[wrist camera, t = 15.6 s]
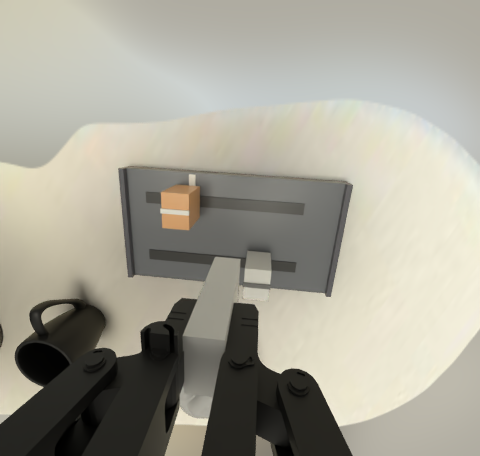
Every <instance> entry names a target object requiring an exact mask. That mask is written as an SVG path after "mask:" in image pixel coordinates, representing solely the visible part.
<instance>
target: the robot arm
mask: <svg viewBox="0 0 480 456" xmlns="http://www.w3.org/2000/svg"><path fill="white" fill-rule="evenodd" d="M240 260H241V259H236V258H224V257H215V258H214V261H213V263H212V266H211V268H210V270H209V273H208V275H207V278H206V280H205V283H204V285H203V287H202V290H201V292H200V295H199V297H198V300H196V299H186V298H182V299H180V300H179V301H178V302H177V303H175V304H174V306H173V308H172V310H171V313H169V315H168V317H167V319H166V321H158V322H155V323H151V324H149V325H148V326H146V327H144V328H143V330H142V331H141V332H140V333H141V346H142V351H141V353H139V354H135V355H131V356H125V357H118V358H117V357H116V354H115V352H114V351H112V350H111V349H107V348H99V349H94V350H91V351H89V352H87V353H85V354H83V355H82V356H80V357H79V358H78V359H77V360H76V361H74V362H73V363H72V364H71V365H70V366H68V367H67V368H66V369H65V370H64V371H63V372H61V373H60V374H59V375H58V376H57V377H56V378H54V379H53V380H52V381H51V382H50V383H48V384H47V385H46V386H45V387H44V388H43V389H41V390H40V391H39V392H38V393H37V394H35V395H34V396H33V397H32V398H31V399H30V400H28V401H27V402H26V403H25V404H24V405H22V406H21V407H20V408H19V409H18V410H17V411H15V412H14V413H13V414H12V415H11V416H10V417H8V418H7V419H6V420H5V421H4V422H2V423H1V424H0V456H164V455H165V452H166V449H167V445H168V442H169V439H170V436H171V433H172V429H173V426H174V423H175V420H176V417H177V413H178V410H179V405H180V393H181V390H182V387H183V391H184V394H193V395H201V396H209V397H213V400H212V405H211V410H210V415H209V420H208V425H207V430H206V435H205V440H204V445H203V450H202V455H201V456H255V450H256V435H258V436H260V437H262V438H263V439H265V440H267V441H269V442H270V443H271V448H272V452H273V456H352V454H351V451H350V449H349V448H348V445H347V444H346V441H345V439H344V437H343V435H342V433H341V431H340V429H339V427H338V425H337V423H336V421H335V418H334V416H333V414H332V412H331V410H330V408H329V406H328V404H327V402H326V400H325V398H324V396H323V394H322V392H321V390H320V388H319V385H318V384H317V382H316V381H315V379H314V378H313V377H312V376H311V375H310V374H308V373H307V372H305V371H302V370H300V369H288V370H285V371H283V372H282V373H281V374H279V373H277V372H274V371H272V370H270V369H268V368H267V367H265V366H264V365H263V364H262V363H261V361H260V360H259V357H258V353H257V348H258V310H257V308H256V307H255V305H254V304H243V303H237V302H238V291H239V275H240ZM1 343H2V332H1V328H0V346H1Z"/></svg>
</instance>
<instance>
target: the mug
mask: <svg viewBox="0 0 480 456" xmlns="http://www.w3.org/2000/svg"><path fill="white" fill-rule="evenodd" d="M58 304H72V305H74V307H75V308H74V309H72V310H70V311H68V312H66V313H63V314H62V315H60V316H58V317H56V318H54V319H53V320H51V321H49V322H48V323H46V324H45V325H43V323H42V320H41V315H42V312H43V311H44V310H45V309H47V308H48V307H51V306H54V305H58ZM29 317H30V322H31V324H32V327H33V328H34V330H35V332H34V333H33V334H32V335H30V336H29V337H28V338H27V339H26V340H24V341H23V342H22V343H21V344H20V345H19V346H18V347H17V349H16V352H15V361H16V364H17V366H18V368H19V370H20V371H21V373H22V374H23V375H24V376H25V377H26V378H28V379H29V380H30V381H32V382H34V383H36V384H38V385H40V386H43V387H45V386H46V385H47V384H48V383H50V382H51V381H52V380H53V379H54V378H56V377H57V376H58V375H59V374H60V373H61V372H63V371H64V370H65V369H66V368H67V367H68V366H70V365H71V364H72V363H73V362H74V361H76V360H77V359H78V358H79V357H80V356H82V355H83V354H85V353H87V352H89V351H91V350H94V349H95V347H96V345H97V343H98V341H99V339H100V336H101V334H102V331H103V329H104V327H105V318H104V315H103V314H102V313H101V311H100V310H98V309H97V308H95V307H93V306H90V305H85V303H84V301H82V300H79V299H62V300H50V301H45V302H42V303H40V304H38V305H36V306H35V307H34V308H32V310H31V311H30V314H29Z"/></svg>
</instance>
